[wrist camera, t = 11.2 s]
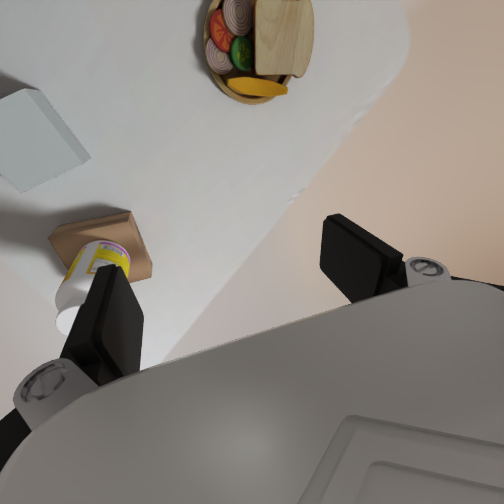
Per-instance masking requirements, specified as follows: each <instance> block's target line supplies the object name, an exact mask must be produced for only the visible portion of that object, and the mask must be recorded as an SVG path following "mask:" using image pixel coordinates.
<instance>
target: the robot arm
mask: <svg viewBox="0 0 504 504" xmlns="http://www.w3.org/2000/svg"><path fill="white" fill-rule="evenodd" d="M402 258H403V254H402V253H401V252H399V251H397V250H396V249H394V248H393V247H391V246H390V245H388V244H386V243H385V242H383V241H382V240H380V239H379V238H377V237H375V236H374V235H372V234H371V233H369V232H368V231H366V230H365V229H363V228H362V227H360V226H358V225H357V224H355V223H354V222H352V221H350V220H349V219H348V218H346V217H344V216H343V215H341V214H334V215H329V216H327V218H326V219H325V220H324V221H323V231H322V243H321V255H320V268H321V270H322V271H323V272H324V274H325V275H326V276H327V277H328V278H329V279H330V280H331V281H332V282H333V283H334V284H335V285H336V286H337V288H338V289H339V290H340V291H341V292H342V293H343V294H344V295H345V296H346V297H347V298H348V299H349V300H350V302H351V303H352V304H348V305H345V306H342V307H338V308H335V309H332V310H329V311H325V312H323V313H319V314H316V315H312V316H309V317H306V318H303V319H300V320H296V321H294V322H290V323H287V324H284V325H280V326H277V327H274V328H271V329H268V330H265V331H261V332H258V333H255V334H252V335H249V336H246V337H242V338H239V339H236V340H233V341H230V342H227V343H224V344H221V345H217V346H214V347H211V348H208V349H205V350H201V351H198V352H195V353H192V354H189V355H186V356H183V357H180V358H177V359H174V360H171V361H167V362H164V363H161V364H158V365H155V366H152V367H150V368H147V369H144V370H141V371H140V359H141V347H142V335H143V323H144V316H143V312H142V310H141V307H140V305H139V303H138V301H137V299H136V297H135V294H134V292H133V290H132V288H131V286H130V284H129V282H128V279H127V277H126V275H125V273H124V271H123V269H122V267H121V266H116V265H115V264H109V265H105V266H100V267H98V268H97V271H96V273H95V276H94V279H93V281H92V284H91V287H90V289H89V292H88V294H87V297H86V300H85V302H84V303H83V304H81V306H80V307H79V310H78V312H77V315H76V317H75V320H74V322H73V325H72V327H71V330H70V332H69V335H68V338H67V340H66V342H65V345H64V347H63V350H62V353H61V355H60V358H59V359H55V360H51V361H49V362H47V363H44V364H42V365H41V366H39V367H38V368H36V369H35V370H33V371H32V372H31V373H30V374H28V375H27V376H26V377H25V378H24V379H23V381H22V382H21V383H20V384H19V386H18V387H17V389H16V391H15V393H14V397H13V402H14V405H15V407H16V408H15V409H13V410H12V411H11V412H10V413H9V414H7V415H6V416H5V417H4V418H3V419H1V420H0V504H504V286H500V285H495V284H490V283H484V282H479V281H474V280H469V279H463V278H458V277H453V276H450V274H449V271H448V269H447V268H446V267H445V266H444V265H443V264H441V263H440V262H438V261H435V260H433V259H429V258H425V257H412V258H410V259H408V260H407V261H406V262H404V261H402Z"/></svg>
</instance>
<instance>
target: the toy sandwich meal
mask: <svg viewBox="0 0 504 504" xmlns="http://www.w3.org/2000/svg"><path fill="white" fill-rule="evenodd" d="M313 40H314V15H313V8H312V4H311V2H310V0H212V2H211V4H210V6H209V9H208V11H207V15H206V19H205V24H204V33H203V41H204V51H205V56H206V60H207V64H208V66H209V69H210V71H211V74H212V76H213V77H214V79H215V81H216V82H217V84H218V85H219V87H220V88H221V89H222V90H223V91H224V92H225V93H226V94H227V95H228V96H230V97H231V98H233V99H234V100H236V101H238V102H241V103H244V104H249V105H257V104H262V103H265V102H268V101H270V100H272V99H273V98H275V97H276V96H278V95H284V94H287V92H288V88H287V87H286V85H287V84H288V82H289V80H290V79H291V76H294V77H295V78H300V77H302V76H303V75H304V73H305V72H306V69H307V67H308V64H309V61H310V58H311V53H312V48H313Z"/></svg>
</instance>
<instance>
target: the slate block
mask: <svg viewBox="0 0 504 504" xmlns="http://www.w3.org/2000/svg"><path fill="white" fill-rule="evenodd" d="M90 158H91V157H90V155H89V154H88V153H87V151H86V150H85V149H84V147H83V146H82V145H81V143H80V142H79V141H78V139H77V138H76V137H75V136H74V134H73V133H72V132H71V130H70V129H69V128H68V126H67V125H66V124H65V122H64V121H63V120H62V118H61V117H60V116H59V114H58V113H57V112H56V110H55V109H54V108H53V106H52V105H51V104H50V102H49V101H48V100H47V98H46V97H45V96H44V94H43V93H42V92H41V90H34V89H25V88H24V89H21V90H19V91H17V92H15V93H13V94H10V95H8V96H6V97H4V98H2V99H0V174H1V175H2V176H3V177H4V178H5V179H6V180H7V181H8V182H9V183H10V184H11V185H12V186H13V187H14V188H15V189H17V190H18V191H19V192H20V193H23V192H25V191H27V190H29V189H31V188H33V187H35V186H37V185H40V184H42V183H44V182H46V181H48V180H50V179H52V178H54V177H56V176H58V175H61V174H63V173H65V172H67V171H69V170H71V169H73V168H75V167H77V166H79V165H82V164H83V163H85V162H86V161H88V160H89V159H90Z"/></svg>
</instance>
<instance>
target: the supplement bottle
mask: <svg viewBox="0 0 504 504" xmlns="http://www.w3.org/2000/svg"><path fill="white" fill-rule="evenodd" d="M109 264H115V265H116V266H121V267H122V269H123V271H124V273H125V275H126V277H127V278H128V273H129V268H130V257H129V254H128V253H127V251H126V250H125V249H124V248H123V247H122V246H120V245H119V244H117V243H114V242H111V241H106V240H98V241H93V242H90V243H88V244H86V245H85V246H84V247H83V248H82V249H81V250H80V251H79V253H78V255H77V256H76V258H75V260H74V262H73V264H72V266H71V267H70V269H69V271H68V273H67V275H66V276H65V278H64V280H63V282H62V284H61V285H60V287H59V289H58V291H57V293H56V297H55V303H56V307H57V309H58V310H59V312H58V314H57V317H56V320H55V324H56V326H57V329H58V330H59V331H60V332H61V333H63V334H65V335H66V336H68V335H69V332H70V330H71V327H72V325H73V322H74V320H75V317H76V315H77V312H78V310H79V307H80V306H81V304H83V303H84V302H85V300H86V297H87V294H88V292H89V289H90V287H91V284H92V281H93V279H94V276H95V273H96V271H97V268H98V267H100V266H105V265H109Z"/></svg>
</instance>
